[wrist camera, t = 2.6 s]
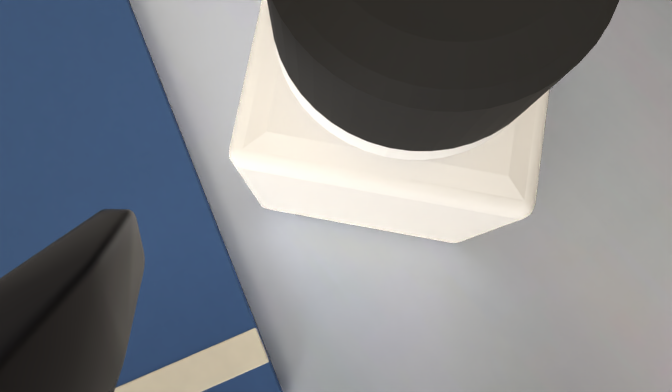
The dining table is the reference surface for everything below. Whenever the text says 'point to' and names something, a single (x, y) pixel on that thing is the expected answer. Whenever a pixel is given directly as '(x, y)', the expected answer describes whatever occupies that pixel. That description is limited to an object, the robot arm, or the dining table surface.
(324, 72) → the medicine bottle
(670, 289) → the dining table surface
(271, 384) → the cloth
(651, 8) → the dining table surface
